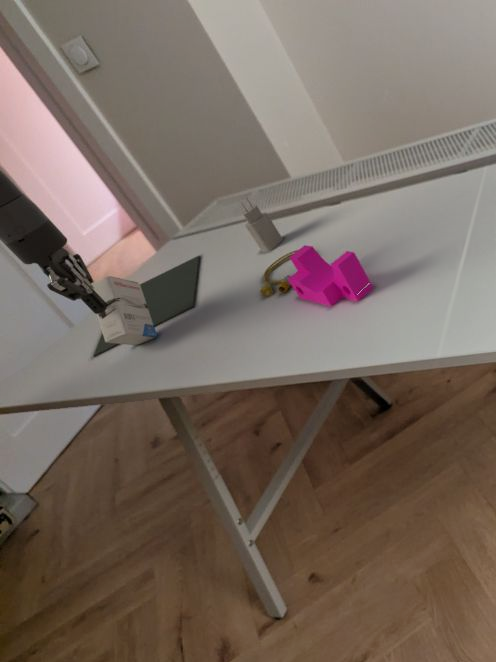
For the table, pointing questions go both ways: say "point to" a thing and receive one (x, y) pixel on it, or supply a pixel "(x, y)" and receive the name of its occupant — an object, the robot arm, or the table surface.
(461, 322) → the table surface
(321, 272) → the toy block
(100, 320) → the ink box
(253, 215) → the power adapter
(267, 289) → the braided water hose
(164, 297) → the mat
